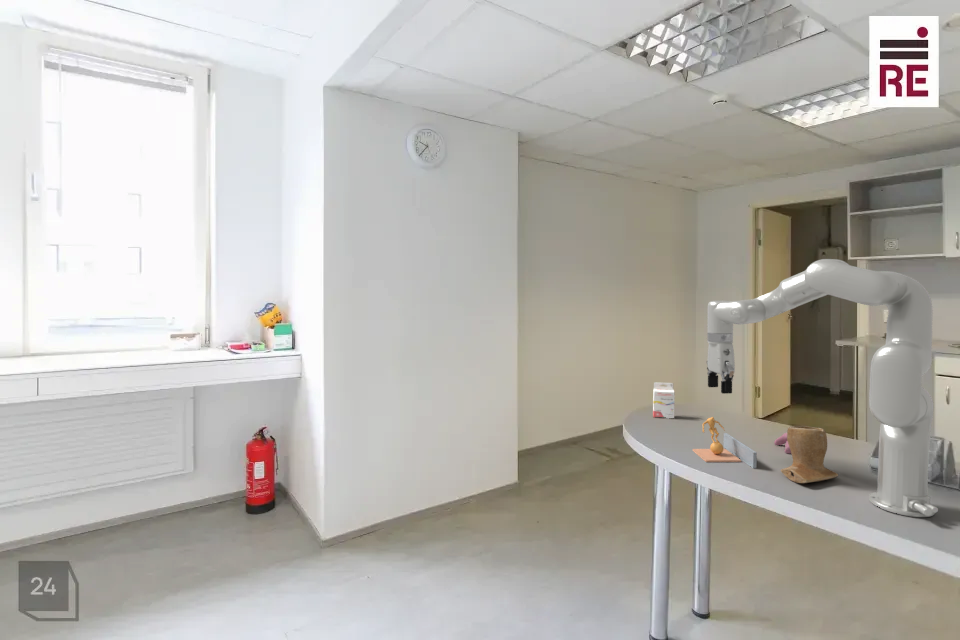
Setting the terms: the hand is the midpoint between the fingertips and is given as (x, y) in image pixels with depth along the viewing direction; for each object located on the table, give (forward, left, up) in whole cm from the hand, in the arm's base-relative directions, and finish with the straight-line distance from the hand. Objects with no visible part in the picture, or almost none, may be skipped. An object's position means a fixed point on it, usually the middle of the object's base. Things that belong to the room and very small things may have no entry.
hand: (719, 390), depth 159 cm
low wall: (-1, -6, -22) cm, 23 cm away
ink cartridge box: (+49, +2, -23) cm, 54 cm away
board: (0, +1, -22) cm, 22 cm away
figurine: (+1, +1, -22) cm, 22 cm away
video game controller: (+7, -26, -23) cm, 35 cm away
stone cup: (-18, -17, -23) cm, 33 cm away
